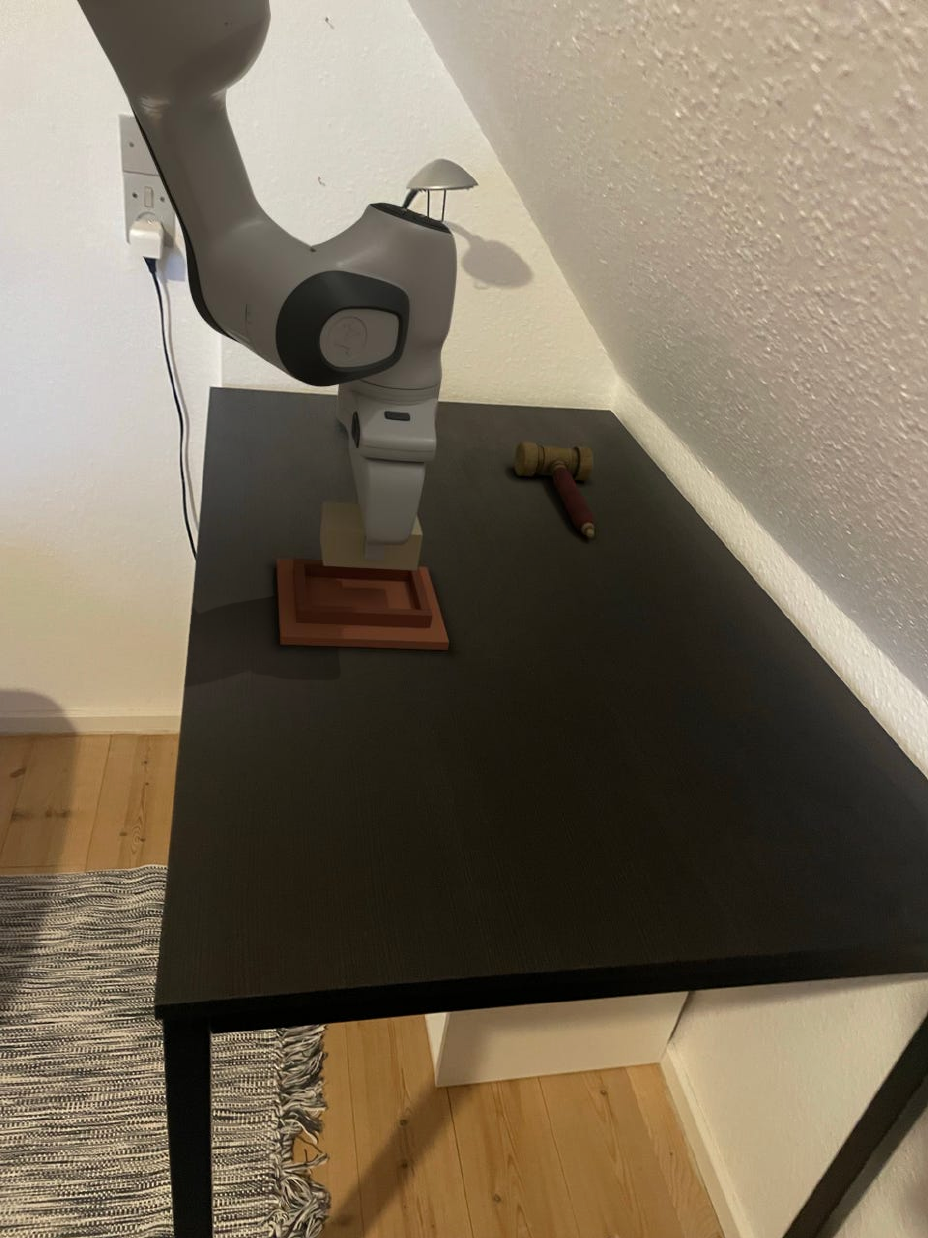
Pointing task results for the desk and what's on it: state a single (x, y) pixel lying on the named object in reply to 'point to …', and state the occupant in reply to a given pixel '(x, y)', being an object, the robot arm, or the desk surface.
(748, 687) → the desk surface
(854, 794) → the desk surface
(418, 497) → the robot arm
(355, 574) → the base pad
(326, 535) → the top pad
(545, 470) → the gavel
